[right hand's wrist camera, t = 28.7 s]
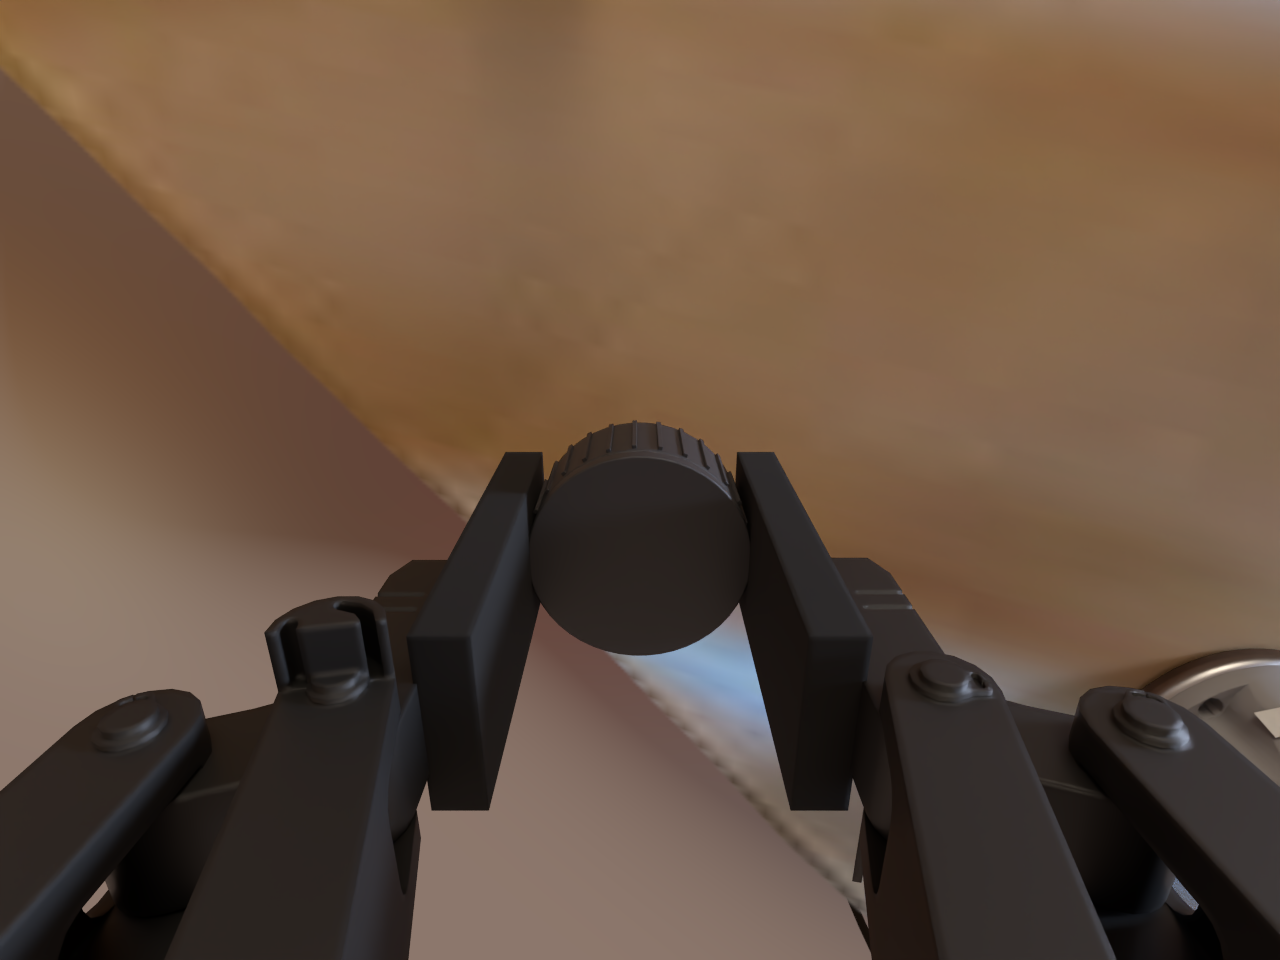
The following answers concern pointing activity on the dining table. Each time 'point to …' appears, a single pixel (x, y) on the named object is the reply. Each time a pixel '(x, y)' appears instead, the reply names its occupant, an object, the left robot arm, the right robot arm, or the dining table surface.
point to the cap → (639, 540)
